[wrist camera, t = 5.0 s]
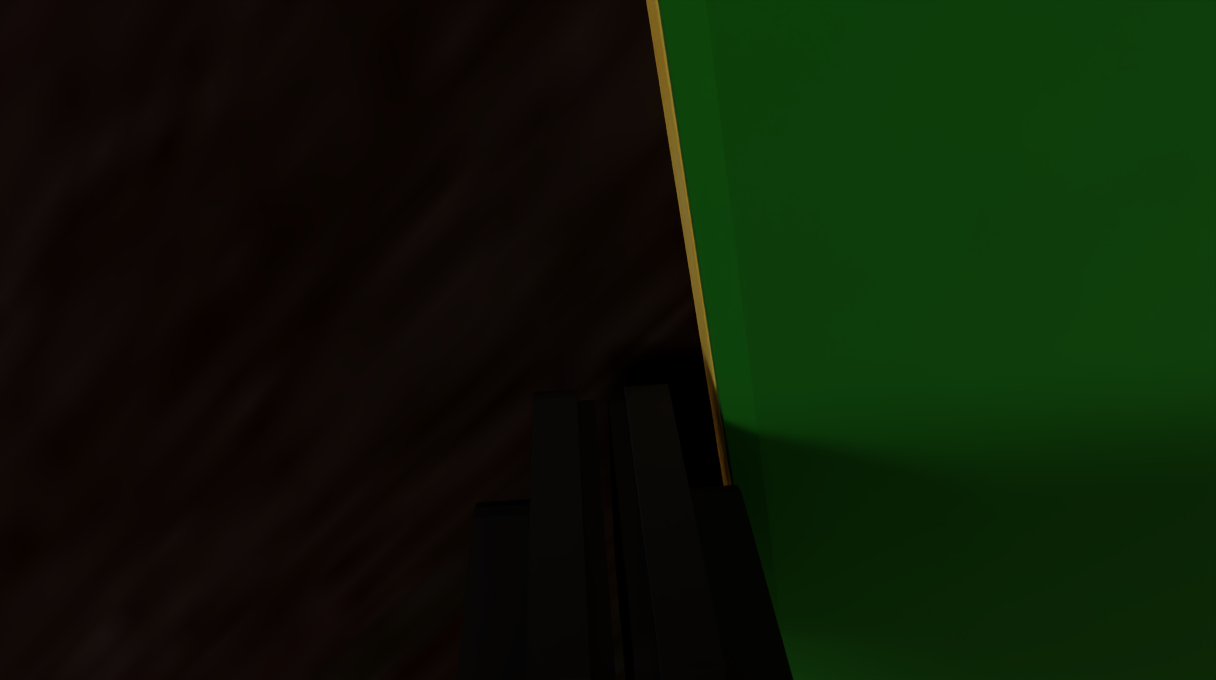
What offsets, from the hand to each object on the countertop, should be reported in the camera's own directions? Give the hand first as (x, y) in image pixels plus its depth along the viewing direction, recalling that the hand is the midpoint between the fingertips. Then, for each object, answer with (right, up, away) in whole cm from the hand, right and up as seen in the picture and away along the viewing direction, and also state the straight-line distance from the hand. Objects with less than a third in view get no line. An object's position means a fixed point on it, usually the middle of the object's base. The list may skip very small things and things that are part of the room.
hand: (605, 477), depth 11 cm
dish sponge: (+5, +2, +1) cm, 5 cm away
